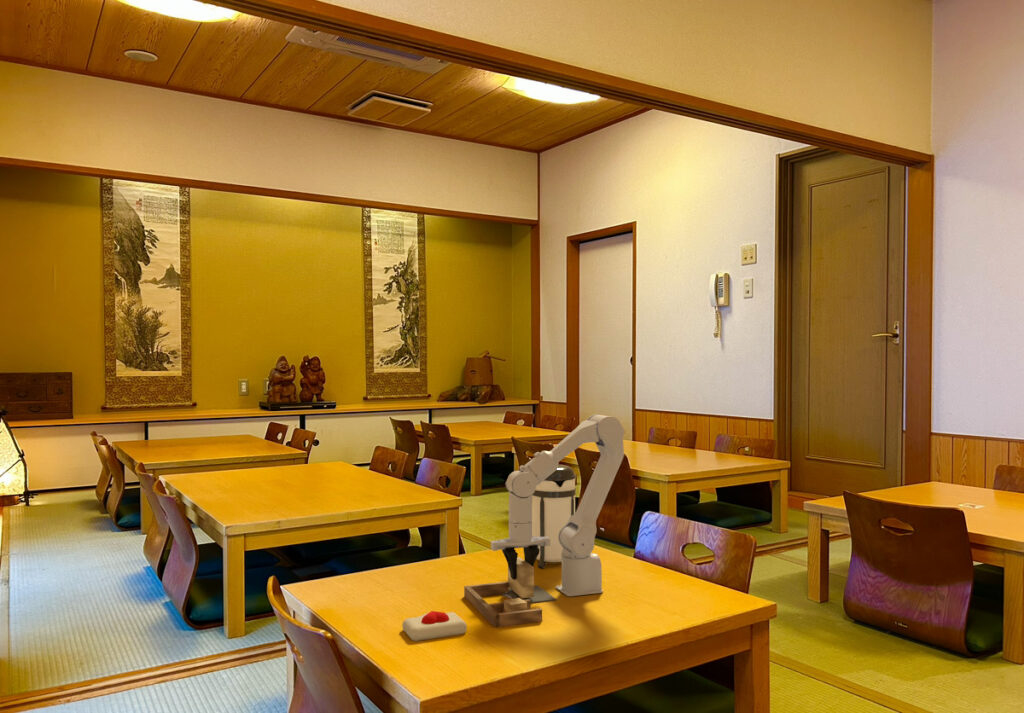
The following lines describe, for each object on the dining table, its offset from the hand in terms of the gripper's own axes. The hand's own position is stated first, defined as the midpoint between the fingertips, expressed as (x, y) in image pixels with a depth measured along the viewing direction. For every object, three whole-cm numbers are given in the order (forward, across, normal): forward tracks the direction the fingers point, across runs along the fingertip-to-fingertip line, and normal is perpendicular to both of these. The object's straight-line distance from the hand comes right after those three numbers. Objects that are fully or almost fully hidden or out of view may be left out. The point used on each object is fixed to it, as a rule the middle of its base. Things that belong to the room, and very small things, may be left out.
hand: (520, 577), depth 185 cm
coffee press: (+5, -19, -27) cm, 33 cm away
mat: (+4, -2, 0) cm, 5 cm away
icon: (+5, +26, +16) cm, 30 cm away
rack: (+4, +7, +7) cm, 11 cm away
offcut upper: (+3, +6, +14) cm, 16 cm away
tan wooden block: (+3, 0, 0) cm, 3 cm away
